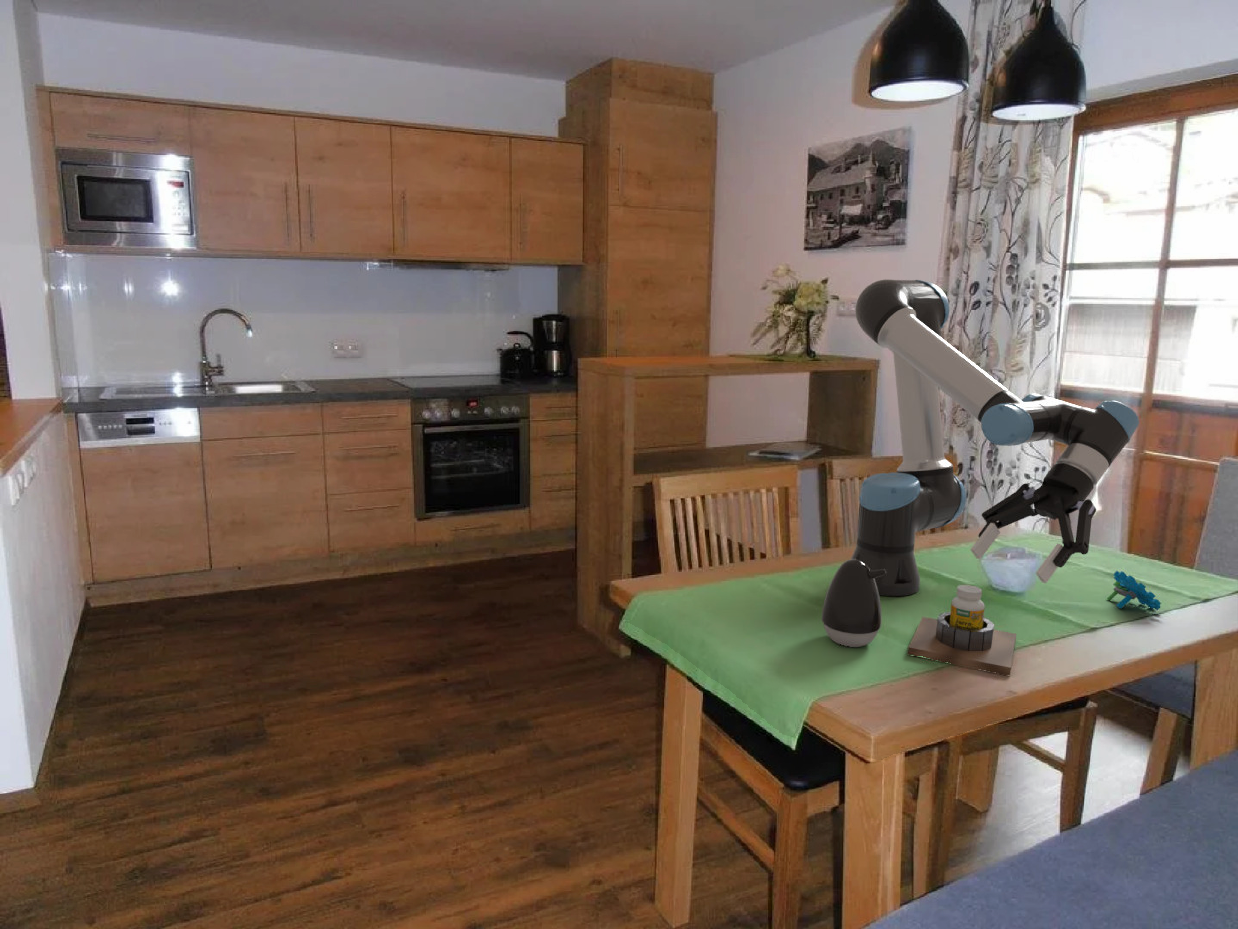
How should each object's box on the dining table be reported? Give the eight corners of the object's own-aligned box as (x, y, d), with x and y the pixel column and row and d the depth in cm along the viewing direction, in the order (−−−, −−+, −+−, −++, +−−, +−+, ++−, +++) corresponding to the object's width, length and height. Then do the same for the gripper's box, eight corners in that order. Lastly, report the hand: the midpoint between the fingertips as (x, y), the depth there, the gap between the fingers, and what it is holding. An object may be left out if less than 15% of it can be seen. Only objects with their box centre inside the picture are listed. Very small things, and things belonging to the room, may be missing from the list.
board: (907, 655, 144) (908, 647, 143) (921, 624, 157) (922, 616, 157) (1009, 676, 136) (1010, 667, 136) (1015, 641, 150) (1016, 633, 150)
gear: (1173, 610, 162) (1139, 573, 162) (1150, 631, 163) (1116, 594, 162) (1138, 597, 173) (1106, 563, 173) (1117, 617, 174) (1085, 583, 173)
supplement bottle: (979, 636, 148) (985, 585, 146) (982, 648, 143) (988, 595, 141) (946, 632, 150) (952, 581, 148) (948, 644, 145) (954, 591, 143)
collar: (932, 644, 145) (934, 625, 144) (939, 626, 153) (941, 608, 152) (989, 655, 141) (991, 635, 140) (993, 636, 148) (995, 618, 148)
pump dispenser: (871, 658, 142) (878, 573, 139) (812, 644, 147) (817, 562, 144) (887, 638, 151) (894, 557, 148) (830, 625, 156) (836, 547, 153)
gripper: (1150, 504, 141) (1080, 602, 138) (1023, 473, 163) (959, 557, 160) (1135, 476, 137) (1062, 576, 134) (1007, 449, 159) (941, 534, 156)
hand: (1006, 566), depth 147 cm, fingers open, 13 cm apart
